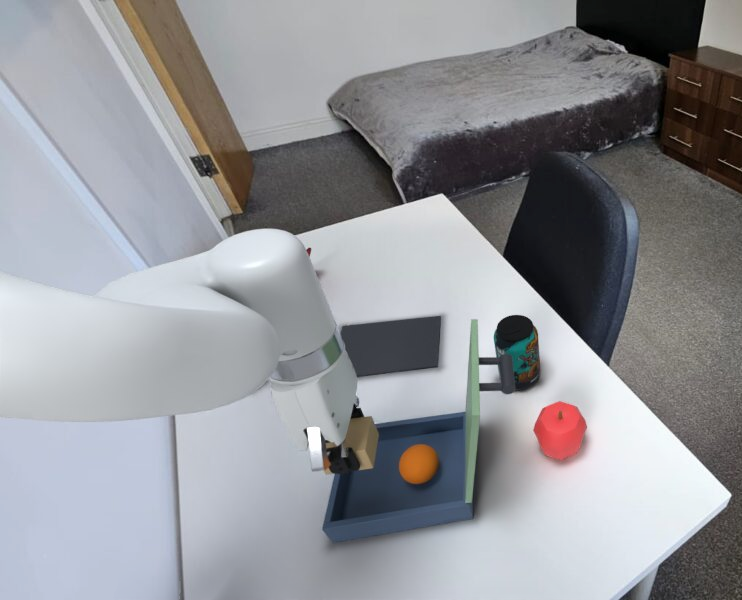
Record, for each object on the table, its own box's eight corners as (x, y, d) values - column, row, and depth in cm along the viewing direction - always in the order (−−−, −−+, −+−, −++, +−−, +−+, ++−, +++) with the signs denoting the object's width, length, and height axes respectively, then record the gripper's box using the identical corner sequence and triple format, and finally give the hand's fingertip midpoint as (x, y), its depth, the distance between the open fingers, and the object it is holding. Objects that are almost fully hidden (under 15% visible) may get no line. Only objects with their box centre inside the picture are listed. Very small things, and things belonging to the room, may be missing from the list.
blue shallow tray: (332, 543, 60) (321, 529, 57) (352, 443, 71) (344, 427, 68) (473, 518, 63) (468, 504, 60) (472, 426, 73) (468, 410, 71)
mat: (328, 380, 79) (327, 378, 79) (343, 327, 89) (342, 325, 89) (437, 367, 82) (437, 365, 82) (440, 317, 92) (440, 315, 92)
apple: (562, 477, 67) (561, 447, 62) (523, 444, 71) (520, 413, 66) (597, 441, 72) (599, 409, 67) (559, 412, 76) (558, 380, 70)
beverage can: (546, 384, 80) (544, 335, 72) (507, 398, 78) (500, 348, 70) (531, 356, 85) (528, 307, 77) (494, 368, 82) (486, 319, 74)
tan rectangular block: (325, 475, 57) (315, 456, 55) (334, 440, 61) (325, 421, 58) (373, 468, 58) (365, 450, 56) (379, 434, 62) (371, 415, 59)
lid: (472, 415, 48) (520, 413, 50) (471, 319, 59) (511, 319, 60) (465, 503, 60) (504, 500, 61) (465, 409, 70) (499, 408, 72)
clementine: (401, 494, 64) (392, 474, 61) (405, 459, 68) (397, 439, 64) (441, 487, 65) (434, 468, 61) (442, 454, 69) (436, 434, 65)
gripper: (285, 297, 53) (333, 399, 65) (227, 421, 40) (300, 521, 52) (355, 291, 54) (391, 392, 66) (321, 410, 42) (372, 509, 53)
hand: (350, 448), depth 59 cm, fingers closed on tan rectangular block, 5 cm apart
